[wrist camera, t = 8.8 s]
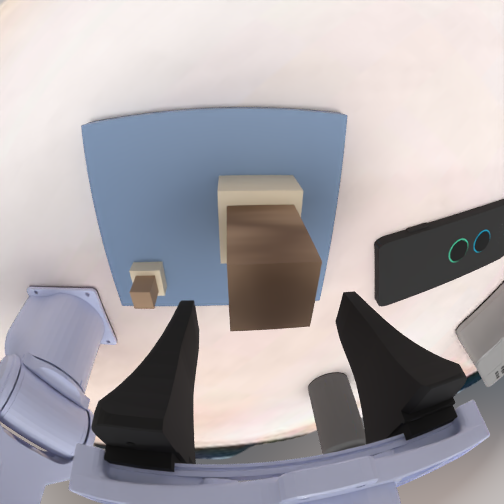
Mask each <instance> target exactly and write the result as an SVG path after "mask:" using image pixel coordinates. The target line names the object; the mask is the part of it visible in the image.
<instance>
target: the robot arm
mask: <svg viewBox="0 0 504 504" xmlns="http://www.w3.org/2000/svg"><path fill="white" fill-rule="evenodd" d="M27 293H28V295H29V297H28V299H27V301H26V302H25V304H24V305H23V307H22V309H21V310H20V312H19V313H18V315H17V317H16V318H15V320H14V322H13V324H12V325H11V327H10V329H9V331H8V333H7V336H6V341H5V354H6V356H5V357H4V358H3V359H2V360H1V361H0V421H1V422H2V423H3V424H5V425H6V426H8V427H9V428H11V429H12V430H14V431H15V432H17V433H18V434H20V435H21V436H23V437H24V438H26V439H28V440H29V441H31V442H33V443H34V444H36V445H38V446H40V447H41V448H43V449H45V450H47V451H42V450H39V449H37V448H35V447H33V446H32V445H30V444H28V443H27V442H25V441H23V440H22V439H20V438H18V437H17V436H15V435H14V434H12V433H11V432H9V431H8V430H6V429H5V428H3V427H2V426H1V424H0V504H40V502H41V499H42V495H43V492H44V489H45V486H47V485H49V484H53V483H58V482H62V481H66V480H70V483H69V490H70V491H72V492H74V493H76V494H78V495H81V496H83V497H85V498H88V499H90V500H93V501H96V502H100V503H104V504H401V502H400V498H399V494H398V491H397V487H398V486H401V485H403V484H405V483H408V482H410V481H412V480H415V479H417V478H419V477H421V476H424V475H426V474H428V473H430V472H432V471H434V470H436V469H438V468H440V467H442V466H444V465H445V464H447V463H449V462H451V461H453V460H455V459H457V458H459V457H460V456H462V455H464V454H465V453H467V452H468V451H470V450H471V449H473V448H474V447H476V446H477V445H478V444H480V443H481V442H482V441H484V440H485V439H486V438H488V437H489V436H490V433H489V431H488V429H487V427H486V424H485V422H484V420H483V418H482V416H481V414H480V411H479V410H478V407H477V405H476V403H475V401H474V400H471V401H469V402H467V403H465V404H463V405H461V406H459V407H457V408H456V409H454V407H453V404H455V401H454V399H453V397H454V396H455V394H456V393H457V392H458V391H459V390H460V389H461V388H462V386H463V385H464V384H465V382H466V375H465V374H464V372H463V370H462V368H461V366H460V365H459V364H457V363H454V362H452V361H449V360H447V359H444V358H442V357H440V356H438V355H435V354H433V353H431V352H430V351H428V350H426V349H424V348H422V347H421V346H419V345H417V344H416V343H414V342H413V341H411V340H410V339H408V338H407V337H406V336H404V335H403V334H401V333H400V332H399V331H397V330H396V329H395V328H394V327H393V326H391V325H390V324H389V323H388V322H387V321H386V320H384V319H383V318H382V317H381V316H380V315H379V314H378V313H377V312H376V311H375V310H374V309H373V308H371V307H370V306H369V305H368V304H367V303H366V302H365V301H364V300H363V299H362V298H361V297H360V296H359V295H358V294H357V293H356V292H343V296H342V300H341V304H340V307H339V311H338V315H337V318H336V325H337V330H338V334H339V338H340V341H341V343H342V346H343V349H344V351H345V354H346V356H347V359H348V362H349V364H350V367H351V369H352V372H353V375H354V378H355V381H356V385H357V389H358V393H359V398H360V403H361V408H362V414H363V421H364V428H365V438H366V445H363V446H359V447H355V448H350V449H346V450H342V451H337V452H332V453H327V454H322V455H317V456H311V457H304V458H298V459H291V460H283V461H273V462H262V463H247V464H196V463H195V447H194V421H193V393H194V383H195V374H196V367H197V359H198V351H199V326H198V321H197V315H196V308H195V302H194V300H182V301H180V302H179V305H178V307H177V309H176V311H175V313H174V315H173V317H172V319H171V320H170V322H169V324H168V326H167V327H166V329H165V331H164V332H163V334H162V336H161V337H160V339H159V340H158V342H157V343H156V345H155V346H154V347H153V349H152V350H151V352H150V353H149V354H148V355H147V357H146V358H145V359H144V360H143V362H142V363H141V364H140V365H139V366H138V367H137V368H136V369H135V371H134V372H133V373H132V374H131V375H130V376H129V377H128V378H126V379H125V380H124V381H123V382H122V383H121V384H120V385H119V386H118V387H117V388H115V389H114V390H113V391H112V392H110V393H109V394H108V395H106V396H105V397H104V398H102V399H101V400H100V401H99V402H98V404H97V407H96V410H95V413H94V415H93V413H92V412H91V411H90V410H89V409H88V406H89V402H90V399H89V398H88V397H86V396H85V395H84V394H85V391H86V387H87V384H88V380H89V377H90V374H91V370H92V367H93V364H94V361H95V358H96V355H97V352H98V349H99V346H100V344H111V345H115V344H116V343H117V339H116V337H115V335H114V333H113V330H112V328H111V326H110V323H109V321H108V319H107V316H106V314H105V311H104V309H103V306H102V304H101V301H100V299H99V296H98V293H97V291H96V290H95V289H93V288H55V287H28V288H27ZM88 293H89V294H88ZM95 436H97V437H99V438H100V439H101V440H102V441H103V442H104V443H105V444H106V449H105V450H103V449H101V448H98V447H93V444H94V440H95ZM258 479H261V480H258ZM239 480H253V481H245V482H239Z"/></svg>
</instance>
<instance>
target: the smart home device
mask: <svg viewBox="0 0 504 504" xmlns="http://www.w3.org/2000/svg"><path fill="white" fill-rule="evenodd" d="M374 247H375V300H376V301H377V303H378V305H379V306H386V305H389V304H392V303H395V302H398V301H401V300H403V299H406V298H409V297H411V296H414V295H417V294H419V293H422V292H425V291H427V290H430V289H432V288H435V287H437V286H440V285H442V284H445V283H447V282H449V281H452V280H454V279H456V278H459V277H461V276H463V275H466V274H468V273H470V272H472V271H475V270H477V269H479V268H481V267H483V266H486V265H488V264H490V263H492V262H494V261H496V260H498V259H500V258H501V257H503V256H504V199H502V200H499V201H496V202H493V203H490V204H487V205H484V206H481V207H478V208H475V209H471V210H468V211H465V212H462V213H459V214H456V215H452V216H449V217H446V218H443V219H440V220H436V221H433V222H430V223H424V224H421V225H418V226H414V227H411V228H408V229H406V230H403V231H400V232H397V233H393V234H390V235H387V236H384V237H381V238H380V239H378V240H377V241H376V242H375V243H374Z"/></svg>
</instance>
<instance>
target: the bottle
mask: <svg viewBox="0 0 504 504" xmlns="http://www.w3.org/2000/svg"><path fill="white" fill-rule="evenodd" d="M308 390H309V395H310V400H311V404H312V409H313V413H314V418H315V422H316V427H317V431H318V436H319V440H320V445H321V449H322V453H323V454H327V453H332V452H337V451H342V450H346V449H350V448H355V447H359V446H363V445H365V444H366V438H365V430H364V427H363V424H362V421H361V417H360V414H359V411H358V408H357V405H356V401H355V398H354V395H353V392H352V389H351V386H350V383H349V381H348V378H347V376H346V375H345V374H342V373H330V374H326V375H323V376H321V377H319V378H317V379H315V380H314V381H313V382H311V384H310V385H309V387H308Z"/></svg>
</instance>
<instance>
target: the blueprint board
mask: <svg viewBox="0 0 504 504" xmlns="http://www.w3.org/2000/svg"><path fill="white" fill-rule="evenodd" d="M346 124H347V115H345V114H341V113H336V112H327V111H316V110H304V109H288V108H260V107H230V108H201V109H186V110H173V111H163V112H153V113H145V114H137V115H130V116H123V117H117V118H111V119H105V120H100V121H95V122H90V123H87V124H85V125H82V126H81V127H82V136H83V144H84V151H85V158H86V165H87V171H88V177H89V182H90V187H91V193H92V198H93V202H94V207H95V212H96V216H97V220H98V225H99V229H100V233H101V237H102V241H103V244H104V248H105V252H106V255H107V259H108V262H109V266H110V269H111V273H112V276H113V279H114V282H115V285H116V288H117V291H118V294H119V297H120V300H121V303H122V306H134V308H136V309H154V308H155V306H178V305H179V302H180V301H182V300H194V302H195V306H209V305H229V297H228V279H227V206H234V205H292V204H294V205H295V207H296V209H297V211H298V213H299V215H300V217H301V219H302V221H303V223H304V225H305V227H306V229H307V231H308V233H309V235H310V237H311V239H312V241H313V243H314V245H315V247H316V250H317V252H318V254H319V256H320V258H321V260H322V265H321V271H320V277H319V282H318V288H317V293H316V298H315V301H317V300H320V296H321V291H322V286H323V281H324V276H325V271H326V266H327V260H328V255H329V250H330V244H331V238H332V232H333V226H334V220H335V214H336V207H337V200H338V193H339V186H340V178H341V171H342V162H343V154H344V144H345V135H346Z"/></svg>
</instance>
